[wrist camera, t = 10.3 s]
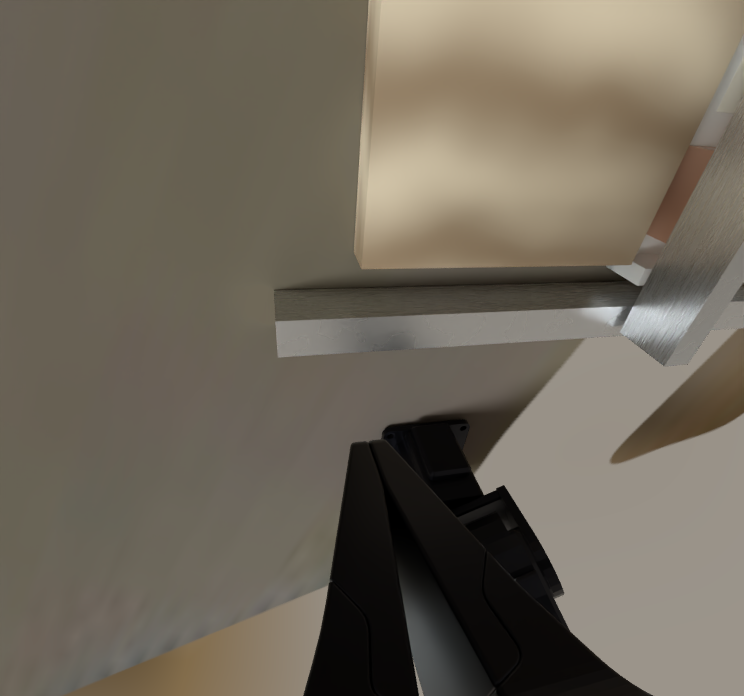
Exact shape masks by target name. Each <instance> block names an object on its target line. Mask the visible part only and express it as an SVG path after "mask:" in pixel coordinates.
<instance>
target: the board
mask: <svg viewBox="0 0 744 696" xmlns="http://www.w3.org/2000/svg"><path fill="white" fill-rule="evenodd" d="M743 34H744V0H369V7H368V23H367V40H366V57H365V74H364V91H363V107H362V124H361V141H360V158H359V175H358V191H357V208H356V225H355V242H354V254H355V256H356V258H357V260H358V262H359V264H360V267H361V269H407V268H473V267H539V266H605V265H631V264H632V262H633V260H634V258H635V256H636V254H637V252H638V250H639V248H640V246H641V244H642V242H643V240H644V238H645V236H646V234H647V232H648V230H649V227H650V225H651V223H652V221H653V219H654V217H655V215H656V213H657V211H658V209H659V207H660V205H661V203H662V201H663V199H664V197H665V195H666V193H667V190H668V188H669V186H670V184H671V182H672V180H673V178H674V176H675V174H676V172H677V170H678V168H679V166H680V164H681V162H682V160H683V158H684V156H685V154H686V151H687V149H688V147H689V145H690V143H691V141H692V139H693V137H694V135H695V133H696V131H697V129H698V127H699V125H700V123H701V121H702V119H703V117H704V115H705V112H706V110H707V108H708V106H709V104H710V102H711V100H712V98H713V96H714V94H715V92H716V90H717V88H718V86H719V84H720V82H721V80H722V78H723V76H724V73H725V71H726V69H727V67H728V65H729V63H730V61H731V59H732V57H733V55H734V53H735V51H736V49H737V47H738V45H739V43H740V41H741V39H742V37H743Z"/></svg>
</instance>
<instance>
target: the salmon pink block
mask: <svg viewBox="0 0 744 696" xmlns="http://www.w3.org/2000/svg"><path fill="white" fill-rule="evenodd" d="M715 149H716V147H709V146H694V145H689V147H688V149H687V151H686V154H685V156H684V158H683V160H682V162H681V164H680V166H679V168H678V170H677V172H676V174H675V176H674V178H673V180H672V182H671V184H670V186H669V188H668V190H667V193H666V195H665V197H664V199H663V201H662V203H661V205H660V207H659V209H658V211H657V213H656V215H655V217H654V219H653V221H652V223H651V225H650V227H649V230H648V232H647V235H649V236H651V237H653V238H655V239H657V240H660V241H662V242H664V243H666V242H667V240H668V238H669V237H670V235H671V233H672V231H673V229H674V227H675V225H676V223H677V221H678V219H679V217H680V216H681V214H682V212H683V210H684V208H685V206H686V204H687V202H688V200H689V198H690V196H691V195H692V193H693V191H694V189H695V187H696V185H697V183H698V181H699V179H700V177H701V175H702V173H703V172H704V170H705V168H706V166H707V164H708V162H709V160H710V158H711V156H712V154H713V152H714V151H715Z"/></svg>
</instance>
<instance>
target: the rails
mask: <svg viewBox="0 0 744 696" xmlns="http://www.w3.org/2000/svg"><path fill="white" fill-rule="evenodd" d="M643 286H644V285H642V286H637V285H635V284H634V283H632V282H630V281H616V282H578V283H539V284H501V285H462V286H424V287H386V288H347V289H309V290H274V301H275V321H276V336H277V352H278V357H291V356H307V355H323V354H339V353H355V352H371V351H387V350H403V349H419V348H435V347H451V346H466V345H482V344H498V343H514V342H530V341H546V340H562V339H578V338H594V337H610V336H624V335H623V334H622V333H620V330H621V328H622V326H623V325H624V323H625V321H626V319H627V317H628V315H629V313H630V311H631V309H632V307H633V305H634V303H635V302H636V300H637V298H638V296H639V294H640V292H641V290H642V288H643ZM737 328H744V283H743V284H742V285H741V287H740V288H739V290H738V291H737V292H736V294H735V295H734V297H733V298H732V300H731V301H730V303H729V304H728V306H727V307H726V309H725V310H724V312H723V313H722V315H721V316H720V318H719V319H718V321H717V322H716V323H715V325H714V326H713V328H712V329H711V330H720V329H737Z"/></svg>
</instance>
